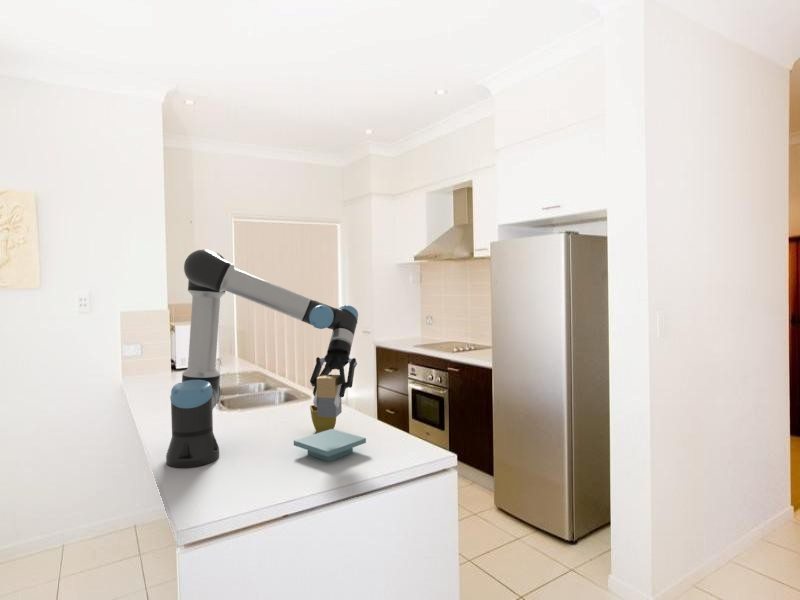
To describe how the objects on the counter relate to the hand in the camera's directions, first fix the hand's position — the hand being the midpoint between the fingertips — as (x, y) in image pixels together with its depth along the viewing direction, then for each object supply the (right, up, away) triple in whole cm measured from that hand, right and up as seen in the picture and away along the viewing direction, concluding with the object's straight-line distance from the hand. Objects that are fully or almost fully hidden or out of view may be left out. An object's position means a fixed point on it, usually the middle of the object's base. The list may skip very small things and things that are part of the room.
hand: (325, 404), depth 155 cm
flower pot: (-5, -16, +27) cm, 32 cm away
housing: (+1, -4, +4) cm, 5 cm away
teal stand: (+1, -16, +4) cm, 17 cm away
